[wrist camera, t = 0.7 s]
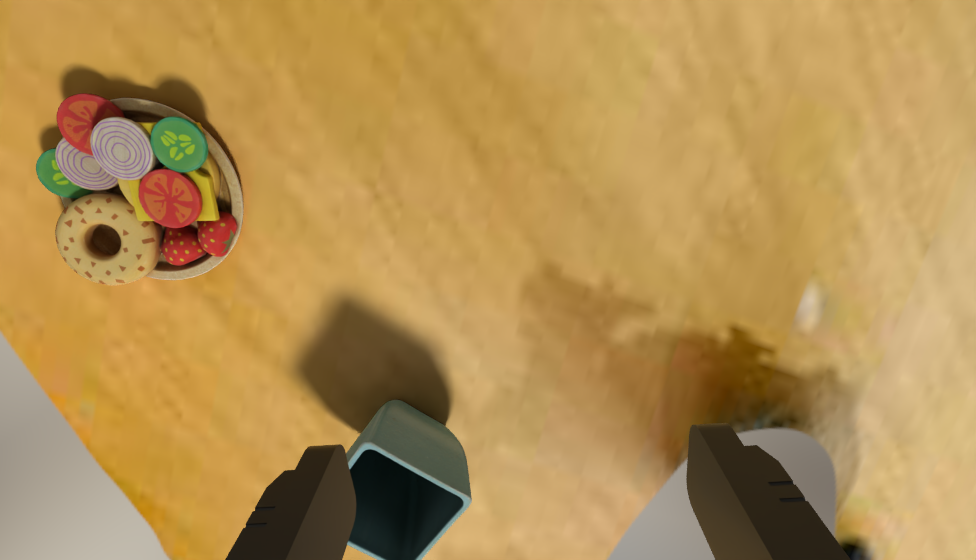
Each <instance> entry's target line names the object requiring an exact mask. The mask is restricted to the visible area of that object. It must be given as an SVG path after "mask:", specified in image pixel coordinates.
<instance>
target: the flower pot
mask: <svg viewBox="0 0 976 560" xmlns="http://www.w3.org/2000/svg"><path fill="white" fill-rule="evenodd" d="M346 457H347V461H348V465H349V469H350V474H351V478H352V482H353V486H354V490H355V495H356V515H355V521H354V525H353V528H352V531H351V534H350V537H349V540H348V543H347V545H349V546H351V547H353V548H355V549H357V550H359V551H361V552H363V553H365V554H367V555H369V556H371V557H373V558H375V559H377V560H422V558H423V557H424V556H425V555H426V554H427V553H428V552H429V550H430V549H431V548H432V547H433V546H434V544H436V542H437V541H438V540H439V539H440V538H441V537H442V535H443V534H444V533H445V532H446V531H447V530H448V529H449V527H450V526H452V524H453V523H454V522H455V521H456V520H457V519H458V518H459V517H460V515H461V514H462V513H464V512H465V510H466V509H467V508H468V507H469V505H470V504H471V502H472V499H471V490H470V482H469V474H468V466H467V460H466V456H465V452H464V450H463V448H462V446H461V444H460V442H459V441H458V439H457V438H456V437H455V436H454V434H453V433H452V432H451V431H450V430H449V429H448V428H447V427H445V426H444V425H443V424H441V423H439V422H438V421H436V420H434V419H432V418H431V417H429V416H427V415H425V414H424V413H422V412H420V411H418V410H417V409H415V408H413V407H412V406H410V405H408V404H407V403H405V402H403V401H401V400H391V401H388V402H386V403H385V404H384V405H383V406H382V407H381V408H380V409H379V410H378V411H377V413H376V414H375V415H374V417H373V418H372V420H371V421H370V422H369V424H368V425H367V426H366V428H365V429H364V430H363V432H362V433H361V434H360V436H359V437H358V438H357V440H356V441H355V442H354V444H353V445H352V446H351V448H350V449H349V450H348V452H347V453H346Z"/></svg>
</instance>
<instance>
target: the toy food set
mask: <svg viewBox="0 0 976 560" xmlns="http://www.w3.org/2000/svg"><path fill="white" fill-rule="evenodd" d="M57 123H58V127H59V130H60V132H61V134H62V135H63V137H62V139H61V141H60V142H59V143H58V145H57V147H56V148H53V149H50V150H47V151H46V152H44V153H43V154H42V155H41V156H40V157H39V159H38V161H37V164H36V171H37V175H38V178H39V180H40V181H41V183H42V184H43V185H44V186H45V187H46V188H47V189H48V190H50V191H51V192H52V193H54V194H57V195H59V196H60V197H61V199H62V202H63V205H64V207H65V209H64V211H63V212H62V214H61V215H60V217H59V219H58V222H57V225H56V230H55V235H56V242H57V246H58V249H59V251H60V253H61V255H62V257H63V259H64V260H65V262H66V263H67V264H68V265H69V266H70V267H71V268H72V269H73V270H74V271H75V272H76V273H78V274H79V275H81V276H82V277H84V278H86V279H88V280H90V281H93V282H96V283H100V284H105V285H123V284H128V283H131V282H134V281H137V280H139V279H141V278H143V277H144V276H147V277H151V278H156V279H162V280H181V279H187V278H192V277H195V276H198V275H201V274H204V273H206V272H208V271H209V270H211V269H213V268H214V267H216V266H217V265H218V264H219V263H221V262H222V261H223V260H224V259H225V258H226V256H227V255H228V254H229V253H230V252H231V250H232V249H233V247H234V245H235V244H236V241H237V239H238V237H239V234H240V231H241V227H242V222H243V196H242V191H241V187H240V183H239V180H238V177H237V174H236V172H235V170H234V168H233V165H232V164H231V162H230V160H229V158H228V157H227V155H226V154H225V152H224V151H223V149H222V148H221V146H220V145H219V144H218V143H217V141H216V140H215V139H214V138H213V137H212V136H211V135H210V134H209V133H208V132H207V131H206V130H205V129H204V128H203V127H201V123H199V122H195V121H194V120H192V119H191V118H189V117H188V116H186V115H184V114H183V113H181V112H179V111H177V110H175V109H173V108H171V107H168V106H166V105H163V104H160V103H157V102H154V101H150V100H145V99H138V98H118V99H112V100H107V99H105V98H103V97H100V96H98V95H94V94H87V93H83V94H76V95H73V96H70V97H68V98H67V99H65V100H64V101H63V102H62V103H61V105H60V107H59V108H58V112H57Z"/></svg>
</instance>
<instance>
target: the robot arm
mask: <svg viewBox="0 0 976 560" xmlns="http://www.w3.org/2000/svg"><path fill="white" fill-rule="evenodd" d="M687 490H688V495H689V499H690V503H691V506H692V508H693V511H694V513H695V515H696V517H697V519H698V522H699V524H700V526H701V528H702V530H703V533H704V535H705V537H706V540H707V542H708V544H709V546H710V548H711V551H712V553H713V555H714V557H715V560H850V558H849V557H848V556H847V554H846V553H845V552H844V550H843V549H842V547H841V546H840V545H839V543H838V542H837V541H836V539H835V538H834V536H833V535H832V534H831V532H830V531H829V530H828V528H827V527H826V526H825V524H824V523H823V521H822V520H821V519H820V517H819V516H818V515H817V513H816V512H815V510H814V509H813V508H812V506H811V505H810V504H809V502H808V501H805V497H804V496H803V494H802V493H801V491H800V490H799V489H798V487H797V486H796V485H794V484H793V480H792V479H791V478H790V476H789V475H788V474H787V472H786V471H785V469H784V468H783V467H782V466H781V464H780V463H779V461H777V460H776V459H775V458H773V457H772V456H771V455H769V454H768V453H766V452H765V451H764V450H762V449H761V448H760V447H758V446H757V445H753V446H744V445H743V444H742V442H741V441H740V439H739V438H738V436H737V435H736V433H735V432H734V430H733V429H732V427H731V426H730V425H729V424H727V423H717V424H700V425H692V426H691V428H690V434H689V449H688V464H687ZM355 515H356V495H355V490H354V486H353V482H352V478H351V474H350V469H349V465H348V461H347V457H346V453H345V449H344V447H343V446H342V445H323V446H310V447H308V448H307V449H306V450H305V452H304V454H303V456H302V457H301V459H300V461H299V463H298V465H297V467H296V469H295V470H287V471H284V472H283V473H282V474H281V475H280V476H279V477H278V478H276V479H275V480H274V481H273V482H272V483H271V484H270V485H269V486H268V487H267V488H266V490H265V491H264V493H263V495H262V497H261V498H260V500H259V502H258V504H257V505H256V507H255V511H253V512H252V514H251V516H250V517H249V519H248V521H247V523H246V528H243V530H242V531H241V533H240V535H239V537H238V538H237V540H236V542H235V544H234V545H233V547H232V549H231V551H230V552H229V554H228V556H227V558H226V559H225V560H342V558H343V555H344V552H345V549H346V546H347V543H348V540H349V537H350V534H351V531H352V528H353V525H354V521H355Z"/></svg>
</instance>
